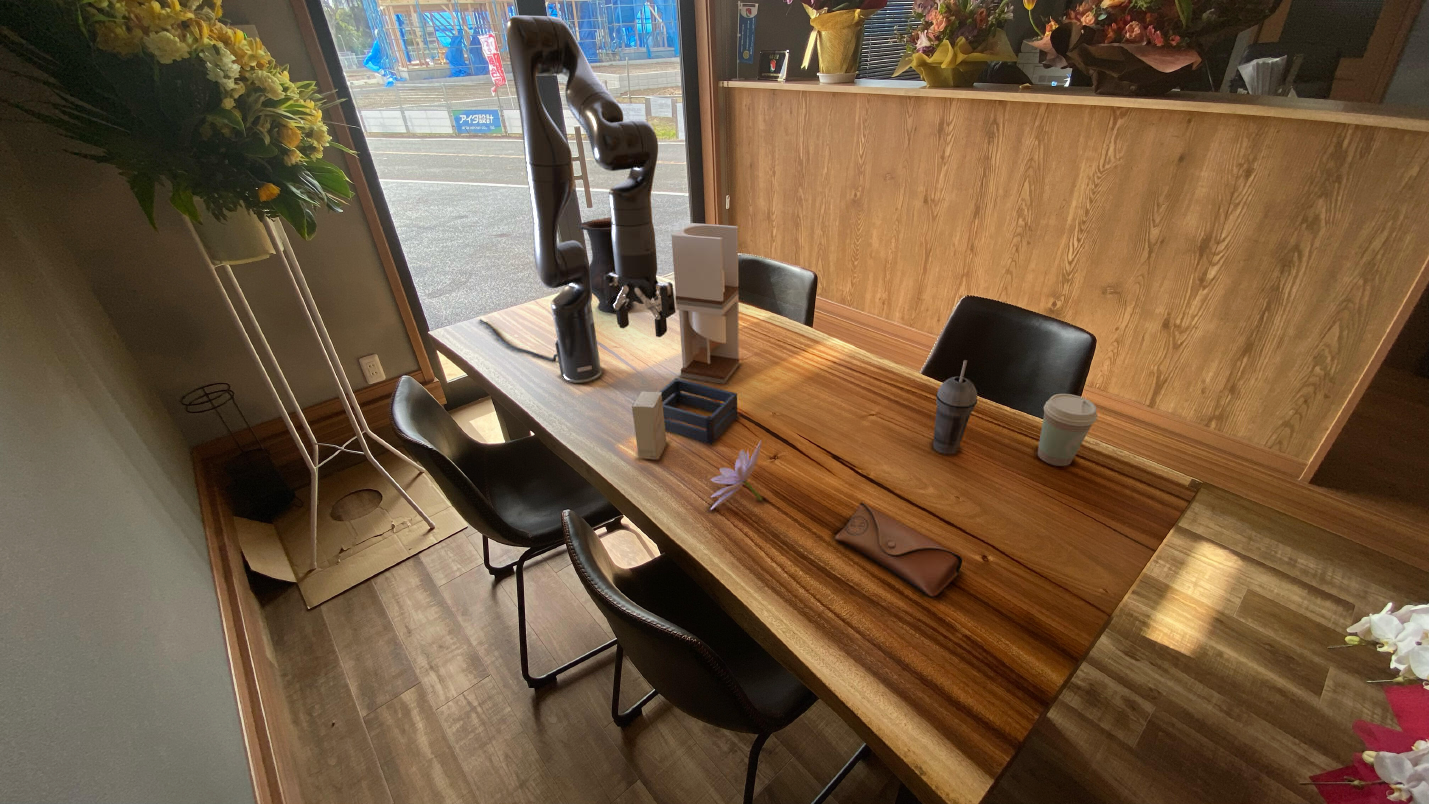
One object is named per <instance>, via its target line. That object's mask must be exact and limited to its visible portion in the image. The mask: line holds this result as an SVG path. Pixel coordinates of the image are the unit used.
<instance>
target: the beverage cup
mask: <svg viewBox="0 0 1429 804" xmlns="http://www.w3.org/2000/svg"><path fill="white" fill-rule="evenodd" d="M967 364H968V360H966V359H964V360H963V364H962V367H961V372H960V374H959V375H960V376H952V377H950V378H948V379H946V380H945V381H943V382H942V383H941V384H940V386H939V388H938V390H937V392H936V394H935V397H936V400H935V401H936V402H935V403H936V404H935V405H936V411H935V421H934V429H933V430H934V432H933V444H932V445H933V449H934V450H935V451H936V452H938V453H940V454H943V455H954V454H956V453H957V452H958V449H959V447H960V445H961V443H962V439H963V437H964V435H965V431H966V428H967V426H968V423H969V420H970V417H971V414H972V413H973V411H974V409H975V406H976V405H977V404H978V391H977V389H976V387H975V384H974V383H973V382H972V381H971V380H970V379H968V378H966V377H964V376H965V372H966V368H967Z"/></svg>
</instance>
